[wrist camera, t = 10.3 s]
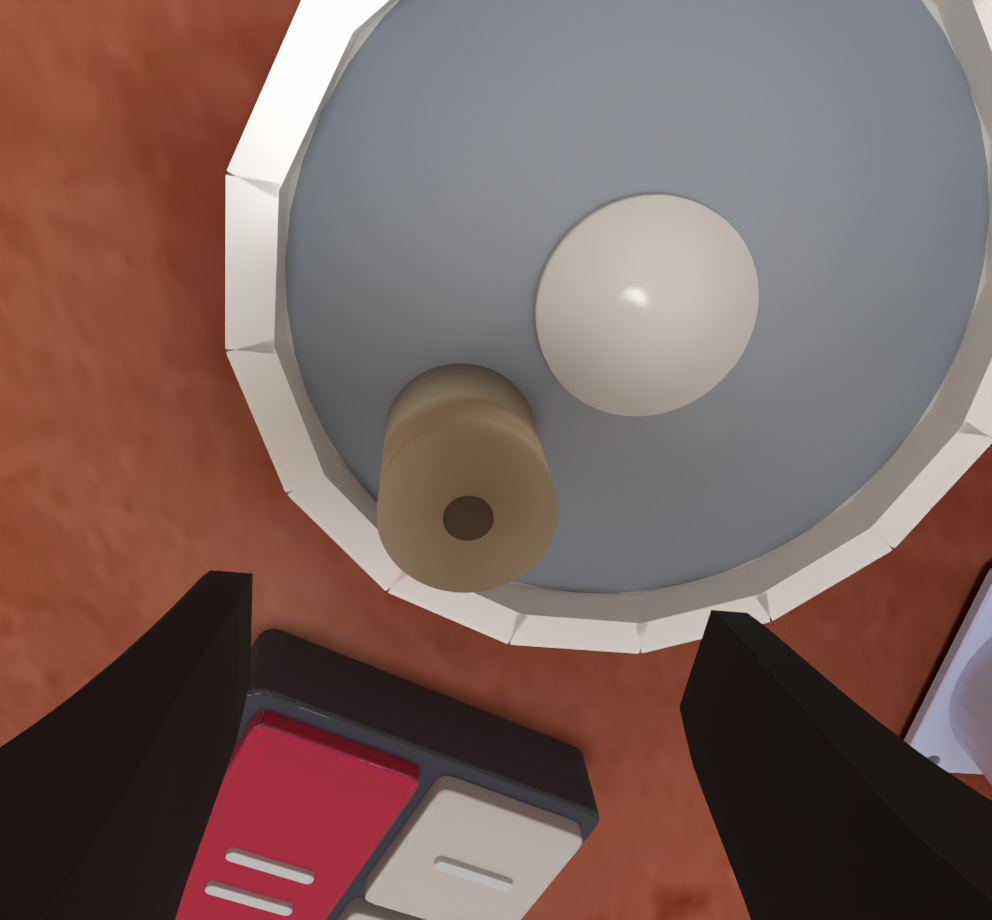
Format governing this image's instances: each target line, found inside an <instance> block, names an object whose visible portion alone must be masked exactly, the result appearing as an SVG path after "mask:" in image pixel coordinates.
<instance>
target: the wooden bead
mask: <svg viewBox="0 0 992 920" xmlns="http://www.w3.org/2000/svg"><path fill="white" fill-rule="evenodd" d="M376 520H377V528H378V533H379V536H380V540H381V542H382V544H383V546H384V549H385V550H386V552H387V554H388V555H389V557H390V558H391V559H392V561H393V562H394V563H395V564H396V565H397V566H398V567H399V568H400V569H401V570H402V571H403V572H404V573H406V574H407V575H409V576H410V577H412V578H413V579H414V580H416V581H418V582H420V583H422V584H424V585H427V586H430V587H432V588H435V589H439V590H443V591H449V592H457V593H471V592H481V591H486V590H491V589H494V588H497V587H500V586H503V585H505V584H507V583H510V582H512V581H514V580H515V579H517V578H519V577H521V576H522V575H523V574H525V573H526V572H527V571H529V570H530V569H531V568H532V567H533V566H534V565H535V564H536V563H537V562H538V561H539V560H540V559H541V558H542V556H543V555H544V554H545V552H546V551H547V549H548V548H549V546H550V544H551V542H552V540H553V537H554V535H555V531H556V528H557V523H558V501H557V495H556V492H555V488H554V485H553V482H552V479H551V475H550V472H549V469H548V465H547V462H546V459H545V456H544V452H543V449H542V446H541V442H540V439H539V436H538V433H537V429H536V426H535V423H534V419H533V416H532V413H531V410H530V407H529V405H528V403H527V401H526V399H525V397H524V396H523V394H522V393H521V391H520V390H519V389H518V388H517V387H516V386H515V385H514V384H513V383H512V382H511V381H510V380H509V379H507V378H506V377H504V376H503V375H501V374H500V373H498V372H496V371H494V370H491V369H489V368H486V367H483V366H479V365H473V364H463V363H458V364H448V365H443V366H439V367H436V368H433V369H430V370H428V371H426V372H424V373H422V374H420V375H418V376H417V377H415V378H414V379H412V380H411V381H410V382H409V383H408V384H407V385H406V386H405V387H404V388H403V389H402V390H401V391H400V392H399V394H398V395H397V397H396V398H395V400H394V401H393V403H392V405H391V407H390V410H389V413H388V416H387V421H386V427H385V436H384V446H383V455H382V465H381V474H380V483H379V493H378V502H377V519H376Z"/></svg>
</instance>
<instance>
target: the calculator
mask: <svg viewBox="0 0 992 920" xmlns="http://www.w3.org/2000/svg"><path fill="white" fill-rule="evenodd" d="M598 822H599V814H598V810H597V806H596V802H595V799H594V795H593V791H592V788H591V784H590V781H589V777H588V773H587V770H586V766H585V762H584V759H583V755H582V753H581V751H580V750H579V749H577V748H575V747H573V746H571V745H568V744H566V743H563V742H561V741H558V740H556V739H553V738H550V737H548V736H545V735H543V734H540V733H538V732H535V731H533V730H530V729H528V728H525V727H523V726H520V725H518V724H515V723H513V722H510V721H508V720H505V719H503V718H500V717H498V716H495V715H493V714H490V713H487V712H485V711H482V710H480V709H477V708H475V707H472V706H470V705H467V704H465V703H462V702H460V701H457V700H455V699H452V698H450V697H447V696H445V695H442V694H440V693H437V692H435V691H432V690H430V689H427V688H424V687H422V686H419V685H417V684H414V683H412V682H409V681H407V680H404V679H402V678H399V677H397V676H394V675H392V674H389V673H387V672H384V671H382V670H379V669H377V668H374V667H372V666H369V665H367V664H364V663H361V662H359V661H356V660H354V659H351V658H349V657H346V656H344V655H341V654H339V653H336V652H334V651H331V650H329V649H326V648H324V647H321V646H319V645H316V644H314V643H311V642H309V641H306V640H303V639H301V638H298V637H296V636H293V635H291V634H288V633H286V632H283V631H280V630H275V629H271V630H267V631H264V632H262V633H261V634H260V635H259V636H258V638H257V639H256V641H255V643H254V644H253V646H252V648H251V661H250V683H249V688H248V692H247V697H246V701H245V706H244V710H243V715H242V719H241V724H240V728H239V732H238V736H237V741H236V744H235V747H234V750H233V753H232V756H231V759H230V762H229V764H228V767H227V770H226V773H225V776H224V779H223V782H222V784H221V787H220V790H219V793H218V796H217V799H216V801H215V804H214V807H213V810H212V813H211V815H210V818H209V821H208V824H207V827H206V830H205V832H204V835H203V838H202V841H201V844H200V846H199V849H198V852H197V855H196V858H195V861H194V863H193V866H192V869H191V872H190V875H189V877H188V880H187V883H186V886H185V889H184V893H183V896H182V899H181V902H180V906H179V909H178V912H177V915H176V919H175V920H521V918H522V917H523V916H524V915H525V914H526V912H527V911H528V910H529V909H530V907H531V906H532V905H533V904H534V903H535V901H536V900H537V899H538V898H539V896H540V895H541V894H542V893H543V892H544V890H545V889H546V888H547V887H548V886H549V884H550V883H551V882H552V881H553V879H554V878H555V877H556V876H557V875H558V873H559V872H560V871H561V870H562V868H563V867H564V866H565V865H566V864H567V862H568V861H569V860H570V859H571V857H572V856H573V855H574V854H575V853H576V851H577V850H578V849H579V847H580V846H581V845H582V843H583V842H584V841H585V840H586V839H587V837H588V836H589V835H590V834H591V832H592V831H593V830H594V829H595V827H596V826H597V824H598Z"/></svg>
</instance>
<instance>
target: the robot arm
mask: <svg viewBox="0 0 992 920" xmlns="http://www.w3.org/2000/svg"><path fill="white" fill-rule="evenodd" d="M251 616H252V574H249V573H236V572H223V571H211V570H210V571H209V572H208V573H206V574H205V575H204V576H202V577H201V578H200V579H199V580H198V581H197V582H196V584H195V585H194V586H193V587H192V588H191V589H190V590H189V591H188V592H187V593H186V594H185V595H184V596H183V597H182V598H181V599H180V600H179V601H178V602H177V603H176V604H175V605H174V606H173V607H172V608H171V609H170V610H169V611H168V612H167V613H166V614H165V615H164V616H163V617H162V618H161V619H160V620H159V621H158V622H157V623H156V624H155V625H153V626H152V627H151V628H150V629H149V630H148V631H147V632H146V633H145V634H144V635H143V636H141V637H140V638H139V639H138V640H137V641H136V642H135V643H134V644H133V645H132V646H131V647H129V648H128V649H127V650H126V651H125V652H124V653H123V654H122V655H121V656H120V657H118V658H117V659H116V660H115V661H114V662H113V663H111V664H110V665H109V666H108V667H107V668H105V669H104V670H103V671H102V672H101V673H99V674H98V675H97V676H96V677H94V678H93V679H92V680H91V681H90V682H88V683H87V684H86V685H85V686H84V687H82V688H81V689H80V690H79V691H77V692H76V693H75V694H74V695H73V696H71V697H70V698H69V699H67V700H66V701H65V702H63V703H62V704H61V705H59V706H58V707H57V708H56V709H54V710H53V711H52V712H50V713H49V714H47V715H46V716H45V717H43V718H42V719H41V720H39V721H38V722H37V723H35V724H34V725H32V726H31V727H29V728H28V729H26V730H25V731H24V732H22V733H21V734H19V735H18V736H16V737H15V738H14V739H12V740H11V741H9V742H8V743H6V744H5V745H3V746H2V747H0V920H175V919H176V915H177V912H178V909H179V906H180V902H181V899H182V896H183V893H184V889H185V886H186V883H187V880H188V877H189V875H190V872H191V869H192V866H193V863H194V861H195V858H196V855H197V852H198V849H199V846H200V844H201V841H202V838H203V835H204V832H205V830H206V827H207V824H208V821H209V818H210V815H211V813H212V810H213V807H214V804H215V801H216V799H217V796H218V793H219V790H220V787H221V784H222V782H223V779H224V776H225V773H226V770H227V767H228V764H229V762H230V759H231V756H232V753H233V750H234V747H235V744H236V741H237V736H238V732H239V728H240V724H241V719H242V715H243V710H244V706H245V701H246V697H247V692H248V688H249V683H250V661H251ZM680 711H681V716H682V720H683V725H684V729H685V734H686V739H687V743H688V747H689V751H690V755H691V759H692V763H693V766H694V769H695V772H696V775H697V777H698V780H699V783H700V786H701V788H702V791H703V794H704V796H705V799H706V802H707V804H708V807H709V810H710V812H711V815H712V817H713V820H714V823H715V825H716V828H717V830H718V833H719V836H720V838H721V841H722V843H723V846H724V848H725V851H726V854H727V856H728V859H729V861H730V864H731V867H732V869H733V872H734V874H735V877H736V880H737V882H738V885H739V887H740V890H741V893H742V895H743V898H744V901H745V904H746V906H747V909H748V912H749V915H750V918H751V920H992V801H991V800H989V799H988V798H986V797H984V796H983V795H981V794H980V793H978V792H977V791H975V790H974V789H972V788H971V787H969V786H968V785H966V784H965V783H963V782H962V781H960V780H959V779H957V778H956V777H954V776H953V775H951V774H950V773H969V774H983V775H984V776H985V777H986V779H987V780H988V781H989V782H990V784H991V785H992V568H991V569H990V570H989V572H988V573H987V575H986V577H985V579H984V581H983V583H982V585H981V587H980V589H979V591H978V593H977V595H976V597H975V599H974V601H973V603H972V605H971V607H970V609H969V611H968V613H967V615H966V617H965V619H964V621H963V623H962V625H961V627H960V629H959V631H958V633H957V635H956V637H955V639H954V641H953V643H952V645H951V647H950V649H949V651H948V653H947V655H946V657H945V659H944V661H943V663H942V665H941V667H940V669H939V671H938V673H937V675H936V677H935V679H934V681H933V683H932V685H931V687H930V689H929V691H928V693H927V695H926V697H925V699H924V701H923V703H922V705H921V707H920V709H919V711H918V713H917V715H916V717H915V719H914V721H913V723H912V725H911V727H910V729H909V731H908V733H907V735H906V737H905V739H904V741H903V740H902V739H901V738H900V737H898V736H897V735H896V734H894V733H893V732H892V731H890V730H889V729H888V728H886V727H885V726H884V725H883V724H881V723H880V722H879V721H877V720H876V719H875V718H874V717H872V716H871V715H870V714H869V713H867V712H866V711H865V710H864V709H862V708H861V707H860V706H859V705H857V704H856V703H855V702H854V701H852V700H851V699H850V698H849V697H848V696H846V695H845V694H844V693H843V692H842V691H840V690H839V689H838V688H837V687H836V686H834V685H833V684H832V683H831V682H830V681H829V680H827V679H826V678H825V677H824V676H823V675H821V674H820V673H819V672H818V671H817V670H816V669H814V668H813V667H812V666H811V665H810V664H809V663H807V662H806V661H805V660H804V659H803V658H802V657H801V656H799V655H798V654H797V653H796V652H795V651H794V650H792V649H791V648H790V647H789V646H788V645H787V644H785V643H784V642H783V641H782V640H781V639H779V638H778V637H777V636H776V635H775V634H774V633H772V632H771V631H770V630H769V629H767V628H766V627H765V626H764V625H763V624H761V623H760V622H759V621H757V620H756V619H755V618H753V617H752V616H751V615H749V614H748V613H743V612H730V611H718V610H711V612H710V616H709V619H708V622H707V625H706V628H705V631H704V634H703V637H702V640H701V643H700V646H699V649H698V652H697V655H696V658H695V661H694V664H693V667H692V670H691V673H690V676H689V679H688V682H687V686H686V689H685V692H684V695H683V698H682V701H681V704H680ZM948 772H949V773H948Z"/></svg>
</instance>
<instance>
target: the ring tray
mask: <svg viewBox="0 0 992 920" xmlns="http://www.w3.org/2000/svg"><path fill="white" fill-rule="evenodd" d="M227 171H228V172H230V173H228V174H226V228H225V349H228V350H227V351H226V354H227V356H228V358H229V361H230V363H231V366H232V368H233V370H234V373H235V375H236V377H237V380H238V382H239V384H240V387H241V389H242V391H243V394H244V396H245V398H246V401H247V403H248V406H249V408H250V410H251V413H252V415H253V417H254V420H255V422H256V424H257V427H258V429H259V431H260V434H261V436H262V438H263V441H264V443H265V446H266V448H267V450H268V453H269V455H270V457H271V460H272V462H273V464H274V467H275V469H276V471H277V474H278V476H279V478H280V481H281V483H282V485H283V488H284V490H285V492H288V494H287V495H288V496H289V497H290V498H291V499H292V500H293V501H294V502H295V503H296V504H297V505H298V506H299V507H300V508H301V509H302V510H303V511H304V512H305V513H306V514H307V515H308V516H309V517H310V518H311V519H312V520H313V521H314V522H315V523H316V524H317V525H319V526H320V527H321V528H322V529H323V530H324V531H325V532H326V533H327V534H328V535H329V536H330V537H331V538H332V539H333V540H334V541H335V542H336V543H337V544H338V545H339V546H340V547H341V548H342V549H343V550H344V551H345V552H346V553H347V554H348V555H349V556H350V557H351V558H352V559H353V560H354V561H355V562H356V563H357V564H358V565H359V566H360V567H361V568H362V569H363V570H364V571H365V572H366V573H367V574H369V575H370V576H371V577H372V578H373V579H374V580H375V581H376V582H377V583H378V584H379V585H380V586H381V587H382V588H383V589H384V590H385V591H386V590H388V593H390V594H392V595H394V596H397V597H399V598H401V599H404V600H406V601H408V602H411V603H413V604H415V605H418V606H420V607H422V608H425V609H427V610H429V611H432V612H434V613H436V614H439V615H441V616H443V617H446V618H448V619H450V620H453V621H455V622H457V623H459V624H462V625H464V626H466V627H469V628H471V629H473V630H476V631H478V632H480V633H483V634H485V635H487V636H490V637H492V638H494V639H497V640H499V641H501V642H504V643H506V644H508V643H509V641H510V645H521V646H535V647H549V648H564V649H578V650H593V651H607V652H621V653H636V654H639V651H640V650H641V653H646V652H650V651H654V650H658V649H662V648H666V647H670V646H674V645H678V644H682V643H686V642H691V641H695V640H699V639H702V637H703V634H704V631H705V628H706V625H707V622H708V619H709V616H710V612H711V610H718V611H730V612H743V613H748V614H749V615H751V616H752V617H753V618H755V619H756V620H757V621H759V622H760V623H761V624H764V623H768V622H770V618H771V619H772V620H773V621H774V620H775V619H777V618H779V617H780V616H782V615H784V614H785V613H787V612H789V611H790V610H792V609H794V608H796V607H797V606H799V605H801V604H802V603H804V602H806V601H807V600H809V599H811V598H812V597H814V596H816V595H818V594H819V593H821V592H823V591H824V590H826V589H828V588H829V587H831V586H833V585H834V584H836V583H838V582H840V581H841V580H843V579H845V578H846V577H848V576H850V575H851V574H853V573H855V572H857V571H858V570H860V569H862V568H863V567H865V566H867V565H868V564H870V563H872V562H873V561H875V560H877V559H879V558H880V557H882V556H884V555H885V554H887V553H889V552H890V551H892V549H891V547H893V548H896V547H897V545H898V544H899V543H900V542H901V541H902V540H903V539H904V538H905V537H906V536H907V535H908V534H909V532H910V531H911V530H912V529H913V528H914V527H915V526H916V525H917V524H918V523H919V522H920V521H921V519H922V518H923V517H924V516H925V515H926V514H927V513H928V512H929V511H930V510H931V509H932V508H933V506H934V505H935V504H936V503H937V502H938V501H939V500H940V499H941V498H942V497H943V496H944V495H945V493H946V492H947V491H948V490H949V489H950V488H951V487H952V486H953V485H954V484H955V483H956V482H957V480H958V479H959V478H960V477H961V476H962V475H963V474H964V473H965V472H966V471H967V470H968V469H969V467H970V466H971V465H972V464H973V463H974V462H975V461H976V460H977V459H978V458H979V457H980V456H981V454H982V453H983V452H984V451H985V450H986V449H987V448H988V447H989V446H990V445H991V444H992V438H991V437H992V0H301V2H300V4H299V6H298V9H297V11H296V13H295V16H294V18H293V20H292V22H291V25H290V27H289V29H288V31H287V34H286V36H285V38H284V41H283V43H282V45H281V47H280V50H279V52H278V54H277V57H276V59H275V61H274V63H273V66H272V68H271V70H270V73H269V75H268V77H267V79H266V82H265V84H264V86H263V89H262V91H261V93H260V95H259V98H258V100H257V102H256V105H255V107H254V109H253V111H252V114H251V116H250V118H249V121H248V123H247V125H246V127H245V130H244V132H243V134H242V137H241V139H240V141H239V143H238V146H237V148H236V150H235V153H234V155H233V157H232V159H231V162H230V164H229V166H228V169H227ZM458 363H463V364H473V365H479V366H483V367H486V368H489V369H491V370H494V371H496V372H498V373H500V374H501V375H503V376H504V377H506V378H507V379H509V380H510V381H511V382H512V383H513V384H514V385H515V386H516V387H517V388H518V389H519V390H520V391H521V393H522V394H523V396H524V397H525V399H526V401H527V403H528V405H529V407H530V410H531V413H532V416H533V419H534V423H535V426H536V429H537V433H538V436H539V439H540V442H541V446H542V449H543V452H544V456H545V459H546V462H547V465H548V469H549V472H550V475H551V479H552V482H553V485H554V488H555V492H556V495H557V501H558V523H557V528H556V531H555V535H554V537H553V540H552V542H551V544H550V546H549V548H548V549H547V551H546V552H545V554H544V555H543V556H542V558H541V559H540V560H539V561H538V562H537V563H536V564H535V565H534V566H533V567H532V568H531V569H530V570H529V571H527V572H526V573H525V574H523V575H522V576H521V577H519V578H517V579H515V580H514V581H512V582H510V583H507V584H505V585H503V586H500V587H497V588H494V589H491V590H486V591H481V592H471V593H457V592H449V591H443V590H439V589H435V588H432V587H430V586H427V585H424V584H422V583H420V582H418V581H416V580H414V579H413V578H412V577H410V576H409V575H407V574H406V573H404V572H403V571H402V570H401V569H400V568H399V567H398V566H397V565H396V564H395V563H394V562H393V561H392V559H391V558H390V557H389V555H388V554H387V552H386V550H385V549H384V546H383V544H382V542H381V540H380V536H379V533H378V528H377V520H376V519H377V502H378V493H379V483H380V474H381V465H382V455H383V446H384V436H385V427H386V421H387V416H388V413H389V410H390V407H391V405H392V403H393V401H394V400H395V398H396V397H397V395H398V394H399V392H400V391H401V390H402V389H403V388H404V387H405V386H406V385H407V384H408V383H409V382H410V381H411V380H412V379H414V378H415V377H417V376H418V375H420V374H422V373H424V372H426V371H428V370H430V369H433V368H436V367H439V366H443V365H448V364H458ZM889 545H890V546H891V547H890V546H889Z"/></svg>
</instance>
